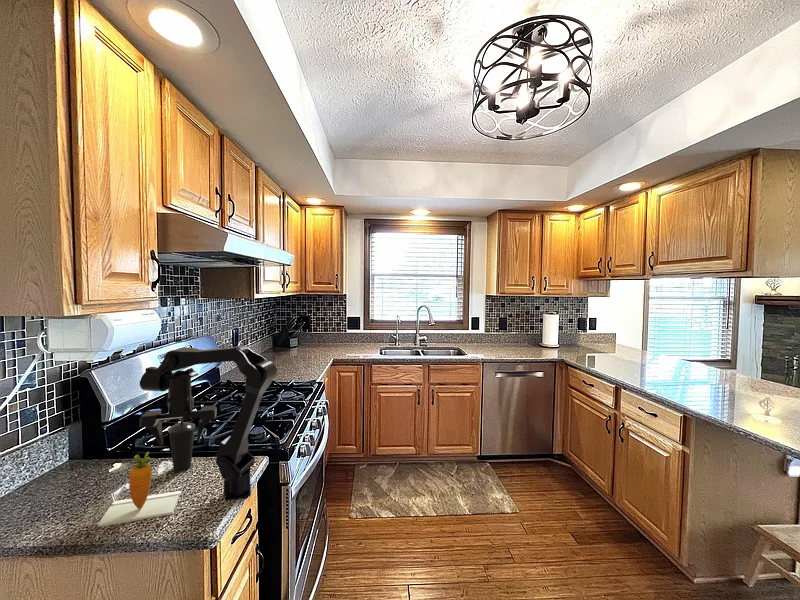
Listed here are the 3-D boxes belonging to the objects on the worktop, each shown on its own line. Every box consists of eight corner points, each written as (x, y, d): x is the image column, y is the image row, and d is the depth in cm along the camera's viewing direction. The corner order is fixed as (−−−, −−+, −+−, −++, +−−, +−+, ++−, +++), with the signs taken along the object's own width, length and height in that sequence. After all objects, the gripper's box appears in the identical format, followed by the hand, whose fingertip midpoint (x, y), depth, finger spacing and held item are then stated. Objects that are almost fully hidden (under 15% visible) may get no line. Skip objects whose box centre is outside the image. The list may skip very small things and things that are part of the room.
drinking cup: (163, 470, 118) (162, 409, 117) (186, 460, 125) (185, 402, 124) (177, 476, 115) (177, 413, 114) (200, 466, 121) (200, 406, 121)
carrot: (148, 500, 101) (149, 447, 100) (153, 508, 98) (154, 453, 97) (126, 508, 97) (127, 452, 96) (131, 517, 94) (132, 459, 93)
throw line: (181, 492, 106) (181, 490, 106) (180, 494, 105) (180, 493, 105) (114, 502, 101) (114, 501, 101) (112, 505, 99) (112, 504, 99)
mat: (179, 497, 104) (179, 495, 104) (172, 514, 96) (172, 511, 96) (110, 508, 98) (110, 506, 98) (97, 527, 91) (97, 524, 91)
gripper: (218, 382, 118) (218, 430, 119) (150, 387, 111) (150, 438, 112) (214, 392, 108) (214, 444, 108) (138, 398, 101) (139, 454, 102)
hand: (180, 444), depth 108 cm, fingers open, 9 cm apart
